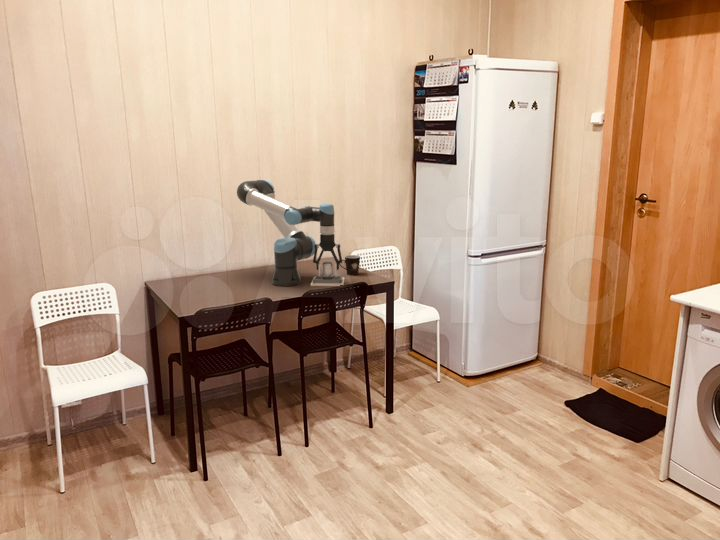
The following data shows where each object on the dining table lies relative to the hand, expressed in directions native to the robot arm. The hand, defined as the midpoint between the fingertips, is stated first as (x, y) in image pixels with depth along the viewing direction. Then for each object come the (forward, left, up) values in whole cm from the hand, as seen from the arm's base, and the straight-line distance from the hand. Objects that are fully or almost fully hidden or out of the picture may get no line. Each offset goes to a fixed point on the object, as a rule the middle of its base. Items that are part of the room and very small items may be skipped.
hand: (327, 275), depth 306 cm
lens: (0, 0, -3) cm, 3 cm away
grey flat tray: (0, 0, -4) cm, 4 cm away
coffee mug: (+11, +19, -4) cm, 22 cm away
